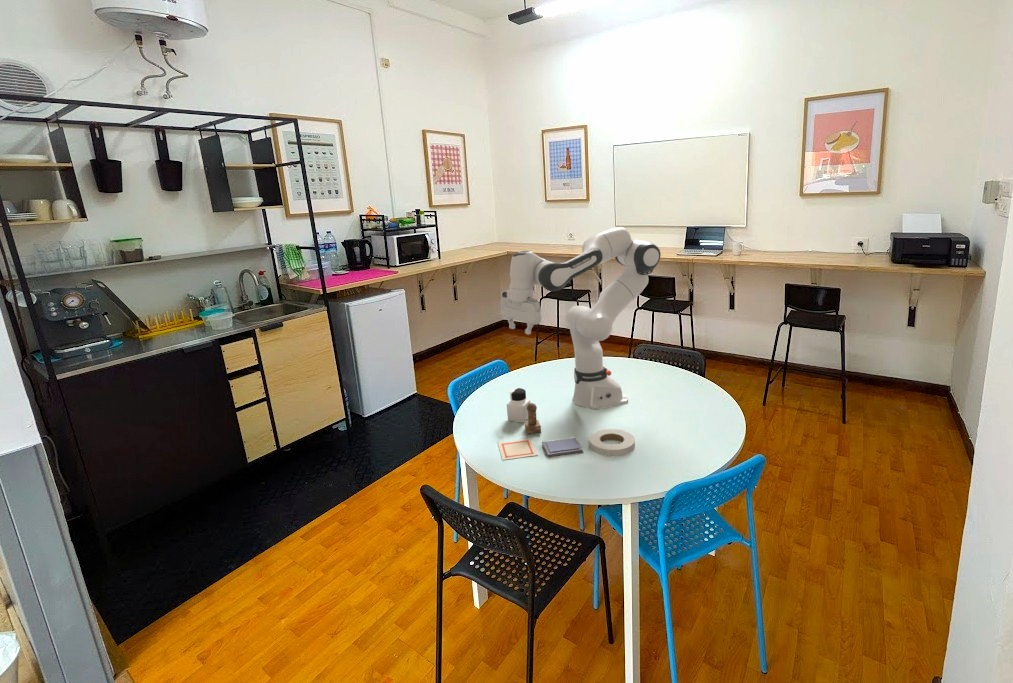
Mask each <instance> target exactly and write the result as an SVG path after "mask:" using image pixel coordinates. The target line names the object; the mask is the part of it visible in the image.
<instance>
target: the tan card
mask: <svg viewBox="0 0 1013 683" xmlns="http://www.w3.org/2000/svg"><path fill="white" fill-rule="evenodd" d="M497 444H498V448H499V452H500V456H501V460H502V461H508V460H514V459H522V458H529V457H536V456H538V455H539V454H538V453H537V449H536V448H535V446H534V443H533V441H532V438H524V439H518V440H510V441H502V442H497Z"/></svg>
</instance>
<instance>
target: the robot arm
mask: <svg viewBox="0 0 1013 683" xmlns="http://www.w3.org/2000/svg"><path fill="white" fill-rule="evenodd" d="M661 256H662V255H661V250H660V248H659V247H658V246H657V245H656V244H654V243H652V242H649V241H646V240H641V239H632V237H631V234H630V232H629V231H628V229H626V228H625V227H621V226H618V227H612V228H609V229H606V230H604V231H603V230H602V231H600V232H598V233H596V234H593V235H592V236H589V237H588V238H587V239H586V240H584V241H583V244H582V247H581V253H580V254H579V255H576V256H575V257H573V258H571V259H569V260H567V261H564V262H554V261H550V260H547V259H545V258H543V257H540V256H539V255H537V254H536V253H534V252H533V251H531V250H521V251H517V252H515V253H514V254H512V256H511V260H510V267H509V268H510V269H509V277H510V284H509V289H508V290H502V291H501V293H500V297H501V299H500V313H501V315H502V316H504V317H507V322H508V324H509V325H508V328H509V330H514V329H516V324H515V322H514V320H517V321H521V322H524V323H526V326H527V327H526V328H525V329H524V334H525V335H531V334H532V328H533V327H534V325H540V323H541V322H542V310H541V302H539V300H538V299H537V298H534V286H535V285H538V286H540V287H542V288H544V289H545V290H547V291H549V292H558V291H560V290H562V289H564V287H566V286H567V285H568V284H569V283H570V281H571V280H573V279H575V278H576V277H579V276H580V275H582V274H583V273H586V272H587V271H589V270H591V269H593V268H594V267H596V266H599V265H601V264H604V263H606V262H609V261H610V260H613V259H615V261H616V262H617V263H619V264H620V265H621V266H625V268H624V270H623V272H622V273H621V274H620V275H619V276H617V277H616V278H615V279H614V280H613V281H612V282H610V283H609V285H607V286H606V287H605V288H604V289H603V290H602V291H601V292H600V294H599V296H598V297H599V298H598V300H597V302H596V303H595V305H594V306H593V307H592V308H591V307H588V306H586V305H574V306H572V307H571V308H569V309H568V310H567V312H566V315H565V321H566V324H567V326H568V328H569V332H570V337H571V340H572V344H573V349H574V363H575V367H574V369H573V370H574V372H573V374H574V375H573V378H574V383H575V384H574V391H573V396H572V402H573V404H574V405H576V406H579V407H583V408H587V409H592V410H600V409H605V408H609V407H613V406H618V405H623V404H627V403H629V398H628V395H627V394H626V393H625V392H624V391H623V390H622V387H621V385H620V383H619V382H618V381H617V380H615V379H614V378H612V377H611V375H612V371H611V370H610V369H608V368H607V367H606V366H604V363H603V362H604V360H603V359H604V358H603V357H604V356H603V354H604V353H603V352H604V351H603V348H602V346H601V343H600V342H601V341H605V340H606V339H608V338H609V337H610V336H611V333H612V331H613V324H614V322H615V321H616V320H617V318H618V316H619V315H620V314H621V313H622V312H623V311H624V310H625V309H626V308H627V307H628V306H629V305H631V304H632V302H634V301H635V300H636V298H638V296H640V294H642V292H643V291H644V289H645V288H646V287H647V286H648V284H649V280H650V279H649V275H650V274H652V273H653V271H654V269H656V267H657V266H658V264H659V262H660V260H661Z"/></svg>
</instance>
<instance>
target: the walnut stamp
mask: <svg viewBox="0 0 1013 683" xmlns="http://www.w3.org/2000/svg"><path fill="white" fill-rule="evenodd" d="M527 410H528V419H527V420H526V422H525V423H524V427H525V428H524V429H525V431H526V432H525V433H526V434H527V436H530V435H537V434H541V433H542V428H541V427H542V425H541V423H540V421H539V419H537V410H538V409H537V405H536V404H535V403H533V402H530V404H528V406H527Z"/></svg>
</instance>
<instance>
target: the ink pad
mask: <svg viewBox="0 0 1013 683" xmlns="http://www.w3.org/2000/svg"><path fill="white" fill-rule="evenodd" d="M541 445H542V448H543V450H544V451H545V454H546V456H547V458H548V459H551V458H556V457H557V458H558V457H563V456H564V457H565V456H571V455H579V454H584V449H583V447H582V446H581V445H580V443H579V440H578V439H577V437H570V438H562V439H555V440H548V441H542V442H541Z"/></svg>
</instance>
